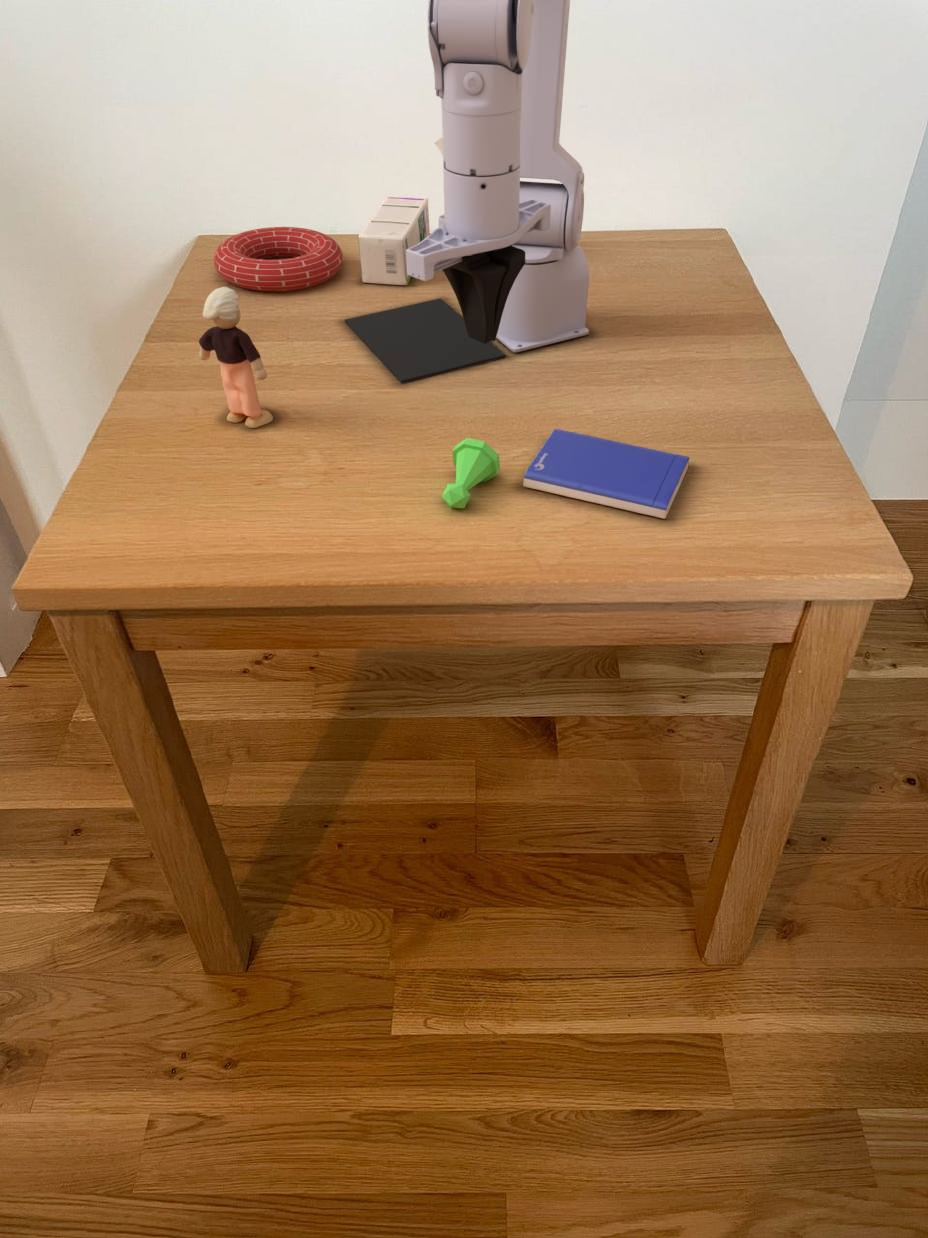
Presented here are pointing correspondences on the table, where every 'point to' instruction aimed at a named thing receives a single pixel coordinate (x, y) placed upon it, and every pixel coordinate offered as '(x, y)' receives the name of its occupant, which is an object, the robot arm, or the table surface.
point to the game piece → (470, 470)
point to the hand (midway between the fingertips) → (482, 337)
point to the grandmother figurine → (234, 358)
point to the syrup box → (392, 239)
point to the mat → (421, 340)
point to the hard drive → (607, 473)
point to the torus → (309, 267)
